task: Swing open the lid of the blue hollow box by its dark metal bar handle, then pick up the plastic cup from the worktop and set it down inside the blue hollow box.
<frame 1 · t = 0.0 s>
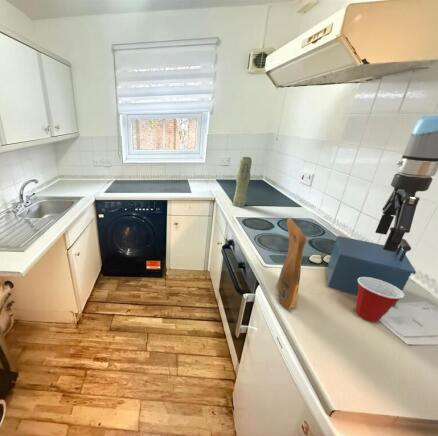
hand: (384, 241, 75), 24 cm above the worktop, tool pointing down, fingers open, 13 cm apart
plastic cup: (366, 315, 78), on the worktop
blue hollow box: (356, 283, 93), on the worktop
pancake mix bag: (283, 295, 87), on the worktop
olive green rough post: (239, 205, 177), on the worktop
lid: (374, 245, 86), point 17 cm above the worktop, hinge at 0.0°
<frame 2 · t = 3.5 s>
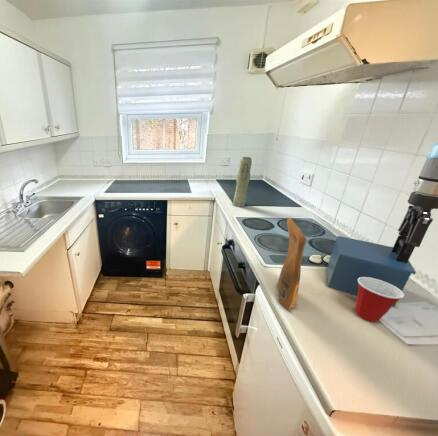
hand: (398, 256, 83), 15 cm above the worktop, tool pointing down, fingers closed on lid, 6 cm apart
lid: (374, 245, 86), point 17 cm above the worktop, hinge at -0.1°, touching gripper
everything else where it was.
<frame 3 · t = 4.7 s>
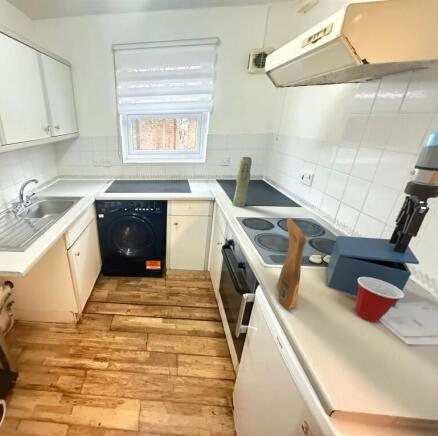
hand: (396, 247, 83), 18 cm above the worktop, tool pointing down, fingers closed on lid, 6 cm apart
lid: (373, 240, 86), point 19 cm above the worktop, hinge at 10.6°, touching gripper
everything else where it was.
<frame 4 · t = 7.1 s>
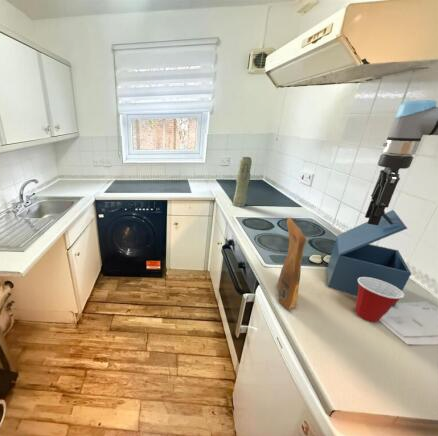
hand: (371, 220, 84), 26 cm above the worktop, tool pointing down, fingers closed on lid, 6 cm apart
lid: (360, 226, 86), point 23 cm above the worktop, hinge at 48.0°, touching gripper
everything else where it was.
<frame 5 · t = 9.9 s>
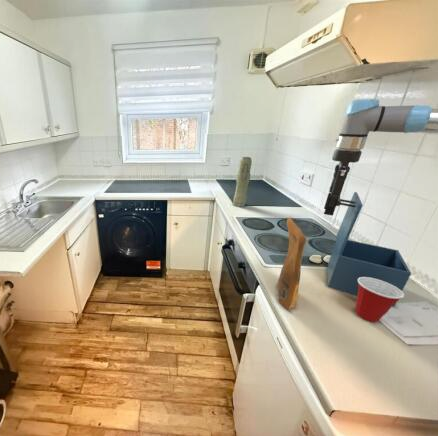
hand: (328, 211, 91), 27 cm above the worktop, tool pointing down, fingers closed on lid, 6 cm apart
lid: (338, 220, 90), point 24 cm above the worktop, hinge at 87.6°, touching gripper
everything else where it was.
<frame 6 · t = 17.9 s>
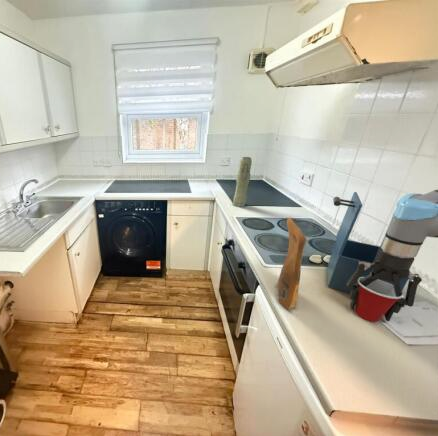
hand: (368, 312, 77), 1 cm above the worktop, tool pointing down, fingers closed on plastic cup, 8 cm apart
plastic cup: (366, 315, 78), on the worktop, touching gripper
lid: (337, 220, 90), point 24 cm above the worktop, hinge at 87.8°
everything else where it was.
when the fingers open (6 cm above the worktop, at t = 28.6 s): plastic cup drops 2 cm, resting on blue hollow box.
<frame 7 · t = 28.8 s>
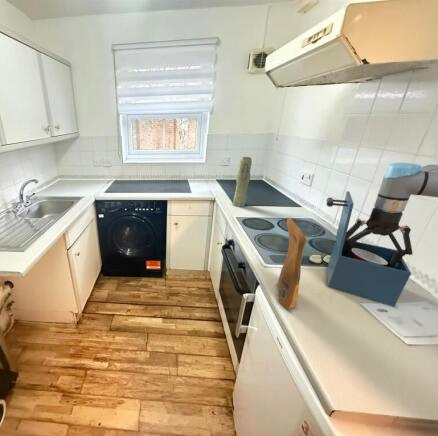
hand: (367, 263, 89), 9 cm above the worktop, tool pointing down, fingers open, 12 cm apart
plastic cup: (352, 280, 93), point 1 cm above the worktop, touching blue hollow box
lid: (333, 220, 90), point 24 cm above the worktop, hinge at 94.6°
everything else where it was.
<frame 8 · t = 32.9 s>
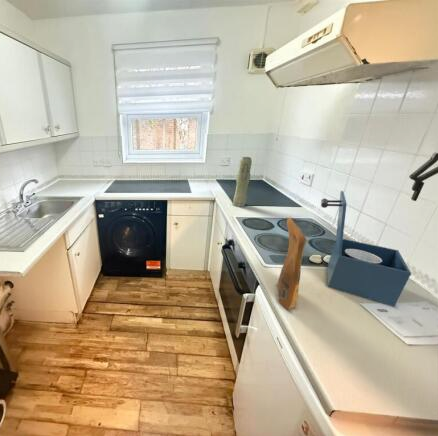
lid: (330, 221, 91), point 23 cm above the worktop, hinge at 99.9°
at the end: lid at +100° (first picture: +0°); plastic cup inside the target area in the blue hollow box (1.5 cm from its centre), point 0.6 cm above the blue hollow box's base; plastic cup tilted 0° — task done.
